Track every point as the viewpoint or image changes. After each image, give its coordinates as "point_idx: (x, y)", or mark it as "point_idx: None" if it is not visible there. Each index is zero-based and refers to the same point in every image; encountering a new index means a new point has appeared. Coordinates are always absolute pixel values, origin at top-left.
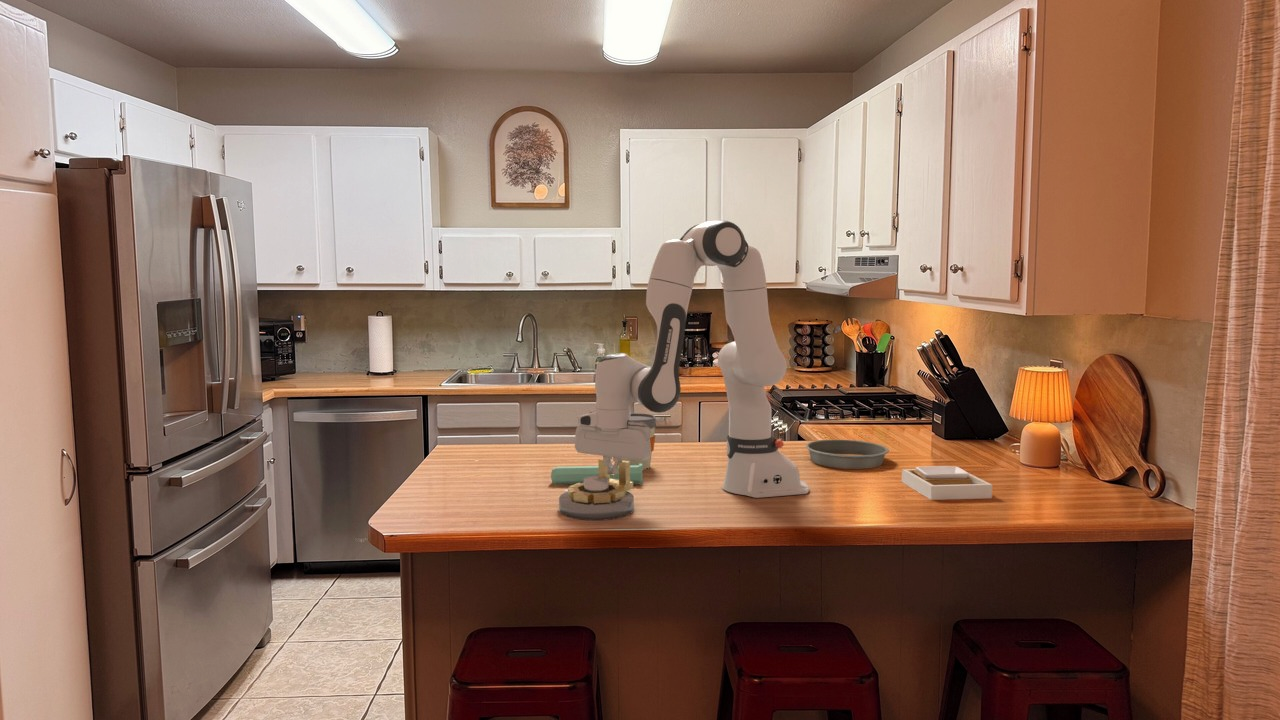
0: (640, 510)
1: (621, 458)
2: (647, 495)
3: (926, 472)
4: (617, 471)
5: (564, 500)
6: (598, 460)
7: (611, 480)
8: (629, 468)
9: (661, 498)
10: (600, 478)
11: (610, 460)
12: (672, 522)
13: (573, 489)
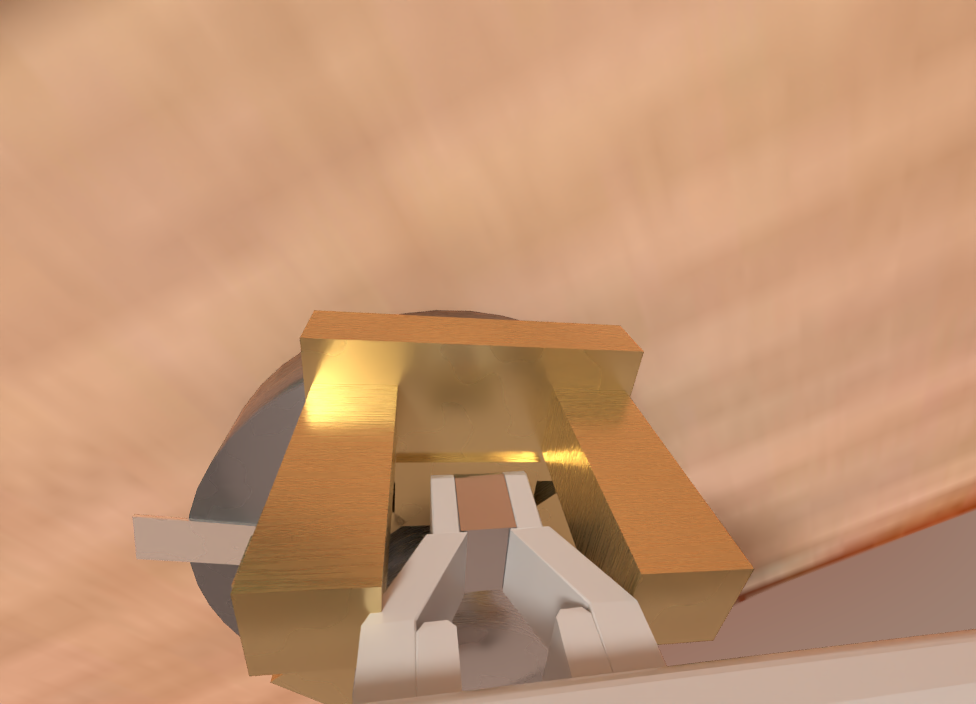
0: (675, 417)
1: (647, 644)
2: (637, 56)
3: None
4: (528, 487)
5: None
6: (254, 658)
7: (427, 395)
8: (696, 501)
9: (766, 103)
10: (481, 671)
11: (431, 602)
12: (846, 492)
13: (332, 684)
